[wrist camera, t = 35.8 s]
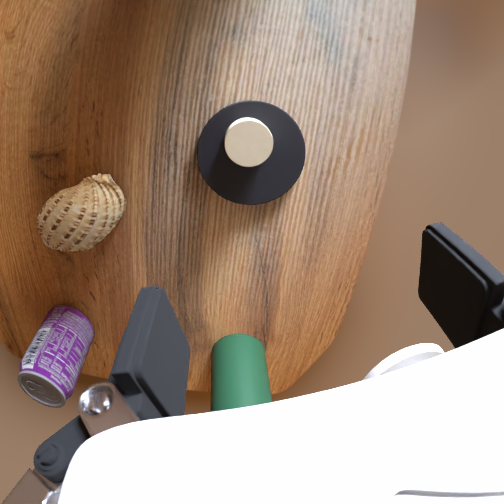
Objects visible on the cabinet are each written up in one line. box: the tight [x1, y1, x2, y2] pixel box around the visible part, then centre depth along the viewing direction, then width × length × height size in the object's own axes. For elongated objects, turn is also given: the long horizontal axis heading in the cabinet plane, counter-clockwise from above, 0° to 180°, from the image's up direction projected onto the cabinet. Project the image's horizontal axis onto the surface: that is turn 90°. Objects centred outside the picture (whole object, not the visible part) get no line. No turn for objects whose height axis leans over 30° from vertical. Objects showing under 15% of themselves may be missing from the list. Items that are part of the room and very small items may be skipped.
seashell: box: [37, 174, 126, 252], centre depth 28 cm, size 8×6×10 cm
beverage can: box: [18, 305, 94, 408], centre depth 32 cm, size 7×7×12 cm
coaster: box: [197, 101, 305, 205], centre depth 29 cm, size 10×10×1 cm
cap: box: [225, 118, 273, 167], centre depth 27 cm, size 4×4×2 cm
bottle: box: [211, 334, 272, 412], centre depth 34 cm, size 7×7×18 cm
